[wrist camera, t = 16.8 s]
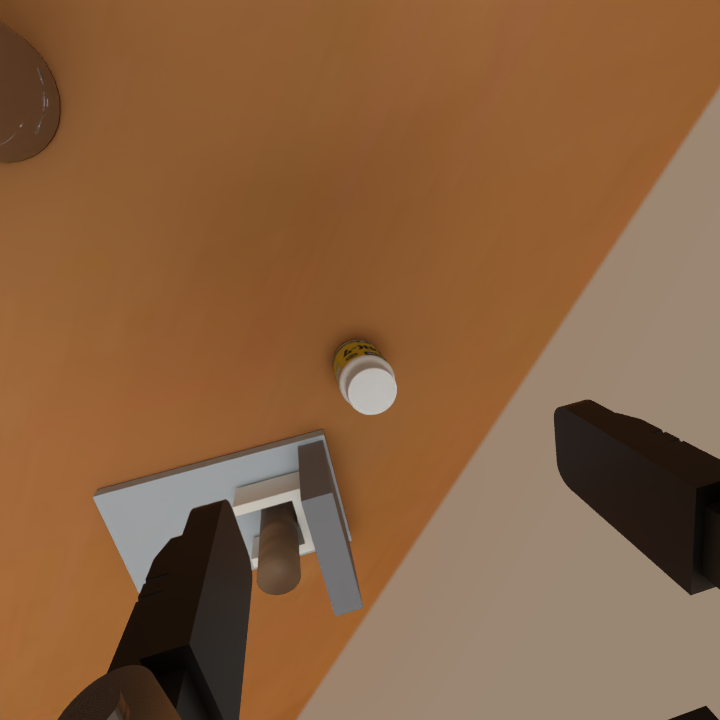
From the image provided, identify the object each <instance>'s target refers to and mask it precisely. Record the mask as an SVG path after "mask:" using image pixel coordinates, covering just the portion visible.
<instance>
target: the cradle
mask: <svg viewBox="0 0 720 720" xmlns="http://www.w3.org/2000/svg"><path fill="white" fill-rule="evenodd" d="M288 501H292V502H293V505H294V508H295V511H296V515H297V518H298V521H299V525H298V538H299V554H302V553H305V552H309V551H312V550H315V547H314V544H313V541H312V537H311V534H310V530H309V527H308V524H307V520H306V517H305V514H304V510H303V507H302V504H301V496H300V479H299V471H298V472H294V473H291V474H287V475H283V476H280V477H276V478H273V479H269V480H265V481H262V482H258V483H255V484H251V485H247V486H244V487H240V488H236V491H235V496H234V501H233V506H232V508H233V511H234V514H235V516H239V515H243V514H246V513H250V512H253V511H257V510H260V509H264V508H267V507H271V506H274V505H278V504H281V503H285V502H288ZM259 537H260V536H259ZM259 537H255V538H253V547H252V556H251V561H252V563H253V566H254V568H255V567H258V552H259Z"/></svg>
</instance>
